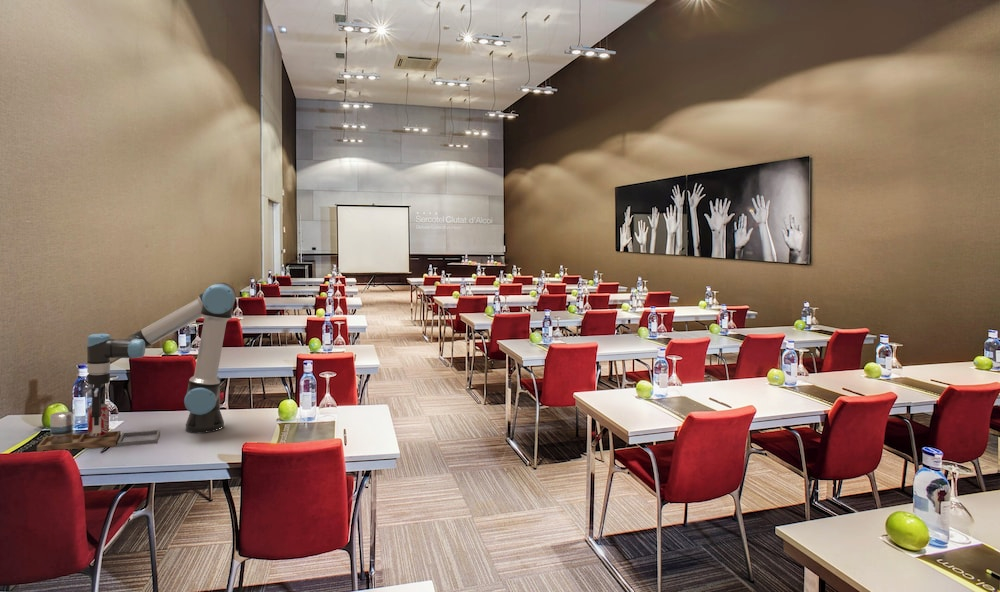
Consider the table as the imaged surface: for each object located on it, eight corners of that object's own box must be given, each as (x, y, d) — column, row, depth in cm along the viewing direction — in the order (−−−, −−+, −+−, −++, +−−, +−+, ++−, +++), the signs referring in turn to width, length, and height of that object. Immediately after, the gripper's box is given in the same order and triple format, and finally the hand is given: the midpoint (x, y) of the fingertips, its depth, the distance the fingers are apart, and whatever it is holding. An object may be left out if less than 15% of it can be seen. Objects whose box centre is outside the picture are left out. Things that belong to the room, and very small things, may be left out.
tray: (159, 433, 259) (159, 430, 259) (157, 443, 247) (157, 439, 247) (122, 436, 254) (122, 432, 254) (117, 446, 241) (117, 442, 241)
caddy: (120, 436, 253) (120, 430, 253) (116, 446, 241) (116, 440, 241) (45, 442, 243) (45, 436, 242) (36, 452, 231) (36, 446, 231)
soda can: (98, 438, 240) (98, 408, 239) (83, 436, 241) (83, 406, 241) (113, 433, 247) (113, 404, 246) (98, 431, 248) (98, 402, 248)
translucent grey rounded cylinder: (74, 441, 244) (74, 411, 243) (70, 446, 238) (70, 415, 237) (52, 442, 241) (52, 412, 240) (48, 448, 235) (48, 417, 234)
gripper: (91, 368, 250) (91, 424, 252) (82, 378, 232) (82, 438, 234) (113, 368, 253) (113, 422, 255) (105, 377, 235) (105, 436, 237)
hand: (98, 430), depth 244 cm, fingers closed on soda can, 7 cm apart
